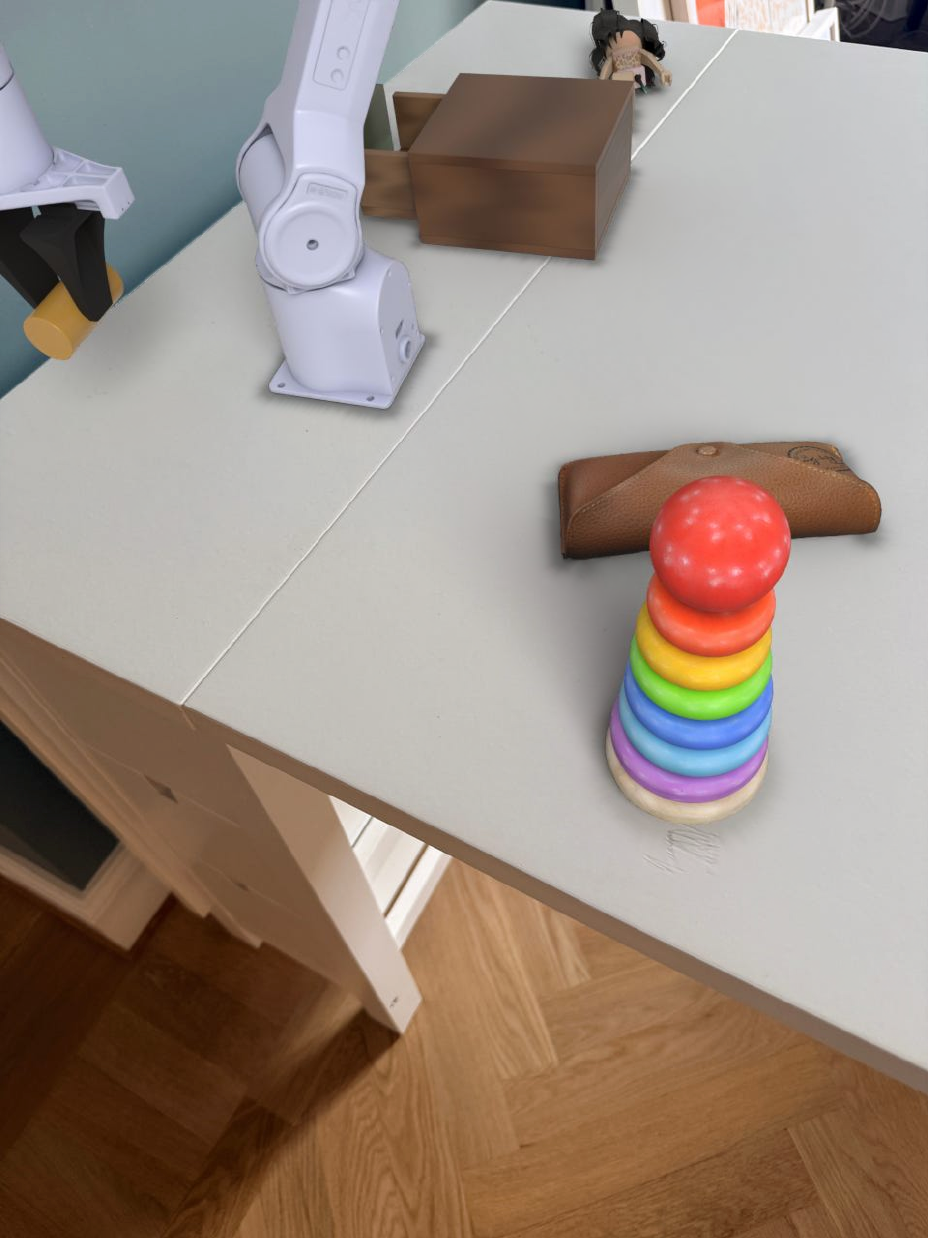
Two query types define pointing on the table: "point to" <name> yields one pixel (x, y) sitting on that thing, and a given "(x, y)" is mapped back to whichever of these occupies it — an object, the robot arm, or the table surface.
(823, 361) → the table surface
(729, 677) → the stacking toy
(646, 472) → the sunglasses case
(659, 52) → the toy figure
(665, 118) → the table surface
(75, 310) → the yellow cylinder
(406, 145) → the drawer
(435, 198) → the cabinet
